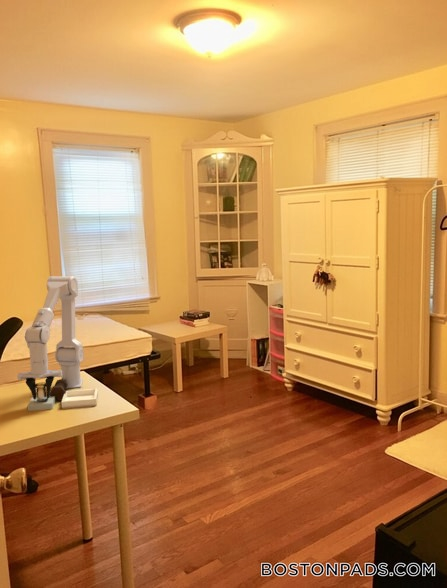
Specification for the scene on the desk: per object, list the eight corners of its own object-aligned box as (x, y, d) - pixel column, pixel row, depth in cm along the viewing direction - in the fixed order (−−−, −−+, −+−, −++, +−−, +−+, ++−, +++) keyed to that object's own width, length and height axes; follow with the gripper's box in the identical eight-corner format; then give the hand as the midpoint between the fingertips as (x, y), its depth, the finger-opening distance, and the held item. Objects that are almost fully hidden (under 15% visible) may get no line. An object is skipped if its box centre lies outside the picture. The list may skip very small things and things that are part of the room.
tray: (65, 397, 180) (65, 391, 180) (97, 394, 183) (97, 388, 182) (61, 408, 169) (61, 401, 169) (96, 405, 172) (96, 398, 171)
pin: (37, 404, 174) (35, 382, 173) (48, 403, 175) (47, 381, 174) (35, 408, 170) (33, 386, 169) (47, 407, 171) (45, 385, 170)
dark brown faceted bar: (64, 391, 192) (60, 403, 177) (52, 386, 190) (46, 398, 176) (71, 378, 192) (67, 389, 177) (59, 373, 191) (54, 383, 176)
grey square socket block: (32, 402, 176) (31, 397, 175) (55, 400, 177) (55, 395, 177) (28, 410, 168) (27, 405, 167) (52, 408, 169) (52, 403, 169)
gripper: (14, 365, 165) (17, 403, 167) (59, 362, 168) (61, 399, 170) (18, 359, 172) (21, 396, 174) (61, 356, 175) (64, 393, 176)
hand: (41, 397), depth 172 cm, fingers closed on pin, 4 cm apart
